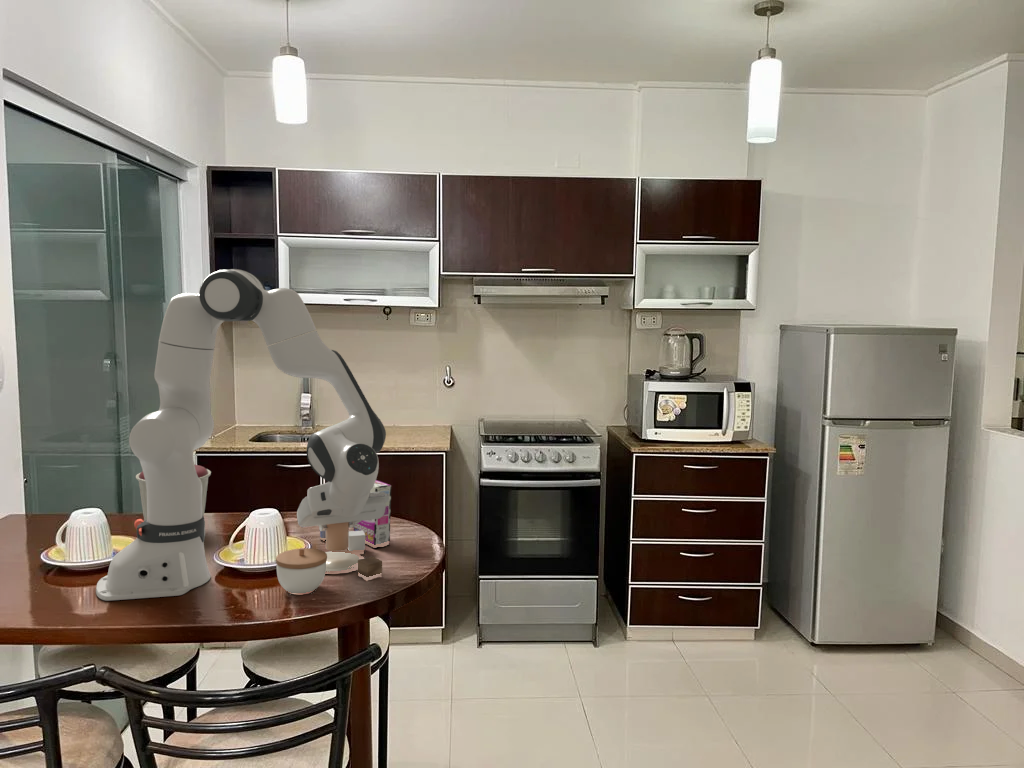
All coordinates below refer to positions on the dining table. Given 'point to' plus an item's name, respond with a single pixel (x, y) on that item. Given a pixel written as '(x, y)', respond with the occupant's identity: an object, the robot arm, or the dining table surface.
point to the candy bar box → (377, 528)
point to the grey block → (356, 540)
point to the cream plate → (340, 561)
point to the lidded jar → (301, 569)
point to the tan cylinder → (337, 536)
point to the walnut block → (369, 566)
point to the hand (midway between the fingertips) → (336, 526)
